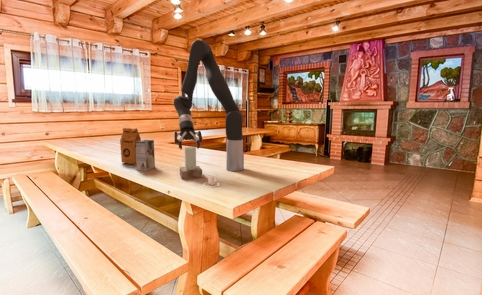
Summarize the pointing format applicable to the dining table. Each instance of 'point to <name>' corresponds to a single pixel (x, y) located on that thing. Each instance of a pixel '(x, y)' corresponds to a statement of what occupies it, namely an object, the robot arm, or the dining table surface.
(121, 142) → the coffee package
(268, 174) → the dining table surface
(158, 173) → the dining table surface
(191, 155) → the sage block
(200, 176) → the walnut plinth
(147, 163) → the coffee box
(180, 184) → the dining table surface
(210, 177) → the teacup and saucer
